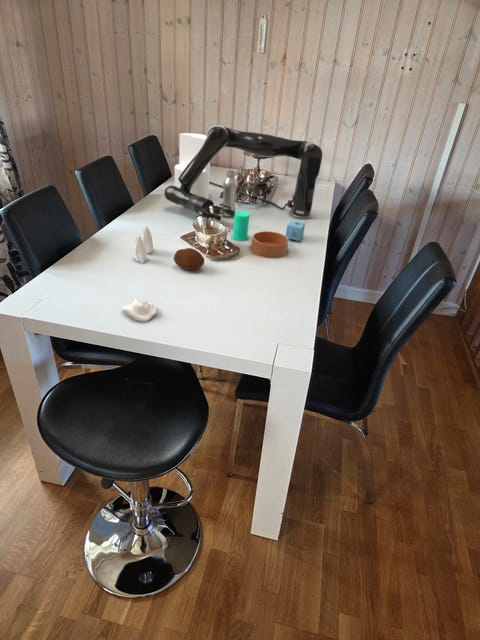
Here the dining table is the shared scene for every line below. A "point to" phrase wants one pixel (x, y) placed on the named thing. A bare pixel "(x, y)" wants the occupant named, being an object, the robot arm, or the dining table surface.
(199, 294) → the dining table surface
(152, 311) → the rose
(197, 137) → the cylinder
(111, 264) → the dining table surface
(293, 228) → the teapot
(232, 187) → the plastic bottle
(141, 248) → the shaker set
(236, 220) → the candle
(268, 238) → the pot
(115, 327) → the dining table surface
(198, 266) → the potato
